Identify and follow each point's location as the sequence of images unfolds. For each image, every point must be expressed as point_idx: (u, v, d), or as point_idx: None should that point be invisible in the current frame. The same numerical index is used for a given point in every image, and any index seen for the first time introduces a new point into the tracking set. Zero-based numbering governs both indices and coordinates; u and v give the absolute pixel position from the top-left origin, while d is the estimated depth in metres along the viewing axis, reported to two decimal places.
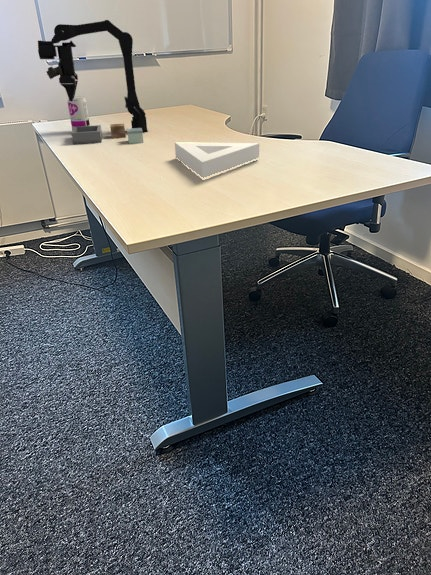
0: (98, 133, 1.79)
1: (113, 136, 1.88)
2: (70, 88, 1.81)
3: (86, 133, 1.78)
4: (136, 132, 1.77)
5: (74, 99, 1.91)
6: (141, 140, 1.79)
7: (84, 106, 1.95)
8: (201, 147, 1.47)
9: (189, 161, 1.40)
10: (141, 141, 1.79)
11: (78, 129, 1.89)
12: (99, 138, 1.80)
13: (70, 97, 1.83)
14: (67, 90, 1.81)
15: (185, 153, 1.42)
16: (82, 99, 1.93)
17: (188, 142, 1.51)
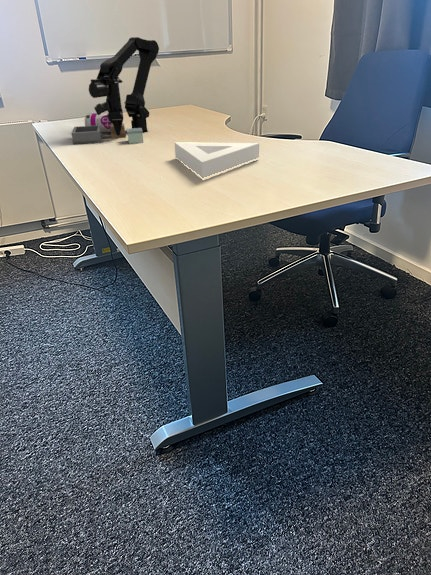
0: (98, 133, 1.79)
1: (113, 136, 1.88)
2: (118, 123, 1.83)
3: (86, 133, 1.78)
4: (136, 132, 1.77)
5: None
6: (141, 140, 1.79)
7: None
8: (201, 147, 1.47)
9: (188, 161, 1.40)
10: (141, 141, 1.79)
11: (78, 129, 1.89)
12: (99, 138, 1.80)
13: (117, 132, 1.86)
14: (115, 125, 1.83)
15: (185, 153, 1.42)
16: None
17: (188, 142, 1.51)
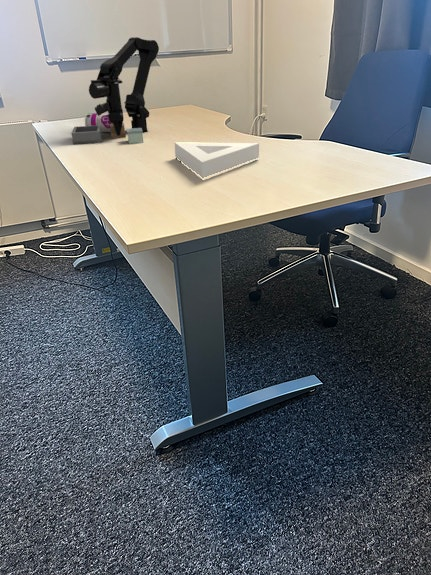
0: (98, 133, 1.79)
1: (113, 136, 1.88)
2: (118, 123, 1.84)
3: (86, 133, 1.78)
4: (136, 132, 1.77)
5: None
6: (141, 140, 1.79)
7: None
8: (201, 147, 1.47)
9: (188, 161, 1.40)
10: (141, 141, 1.79)
11: (78, 129, 1.89)
12: (99, 138, 1.80)
13: (118, 132, 1.87)
14: (115, 125, 1.84)
15: (185, 153, 1.42)
16: None
17: (188, 142, 1.51)
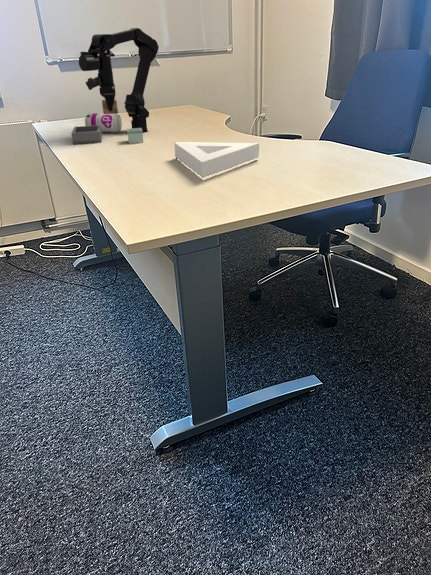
0: (98, 133, 1.79)
1: (105, 111, 1.82)
2: (110, 98, 1.78)
3: (86, 133, 1.78)
4: (136, 132, 1.77)
5: (115, 125, 1.95)
6: (141, 140, 1.79)
7: (112, 132, 1.99)
8: (201, 147, 1.47)
9: (188, 161, 1.40)
10: (141, 141, 1.79)
11: (78, 129, 1.89)
12: (99, 138, 1.80)
13: (110, 108, 1.81)
14: (107, 100, 1.78)
15: (185, 153, 1.42)
16: (117, 131, 1.98)
17: (188, 142, 1.51)
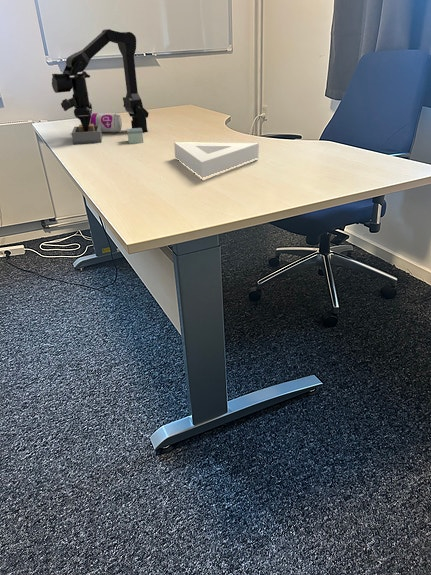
0: (98, 133, 1.79)
1: None
2: (85, 119, 1.77)
3: (86, 133, 1.78)
4: (136, 132, 1.77)
5: (115, 125, 1.95)
6: (141, 140, 1.79)
7: (112, 132, 1.99)
8: (200, 147, 1.47)
9: (188, 161, 1.41)
10: (141, 141, 1.79)
11: (78, 129, 1.89)
12: (99, 138, 1.80)
13: (85, 129, 1.80)
14: (82, 122, 1.77)
15: (185, 153, 1.42)
16: (117, 131, 1.98)
17: (187, 142, 1.51)
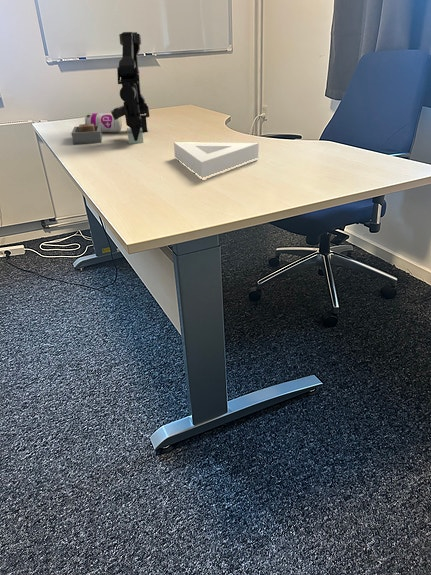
0: (98, 133, 1.79)
1: None
2: (136, 128, 1.75)
3: (86, 133, 1.78)
4: None
5: (115, 125, 1.95)
6: (141, 140, 1.79)
7: (112, 132, 1.99)
8: (200, 147, 1.47)
9: (188, 161, 1.41)
10: (141, 141, 1.79)
11: (78, 129, 1.89)
12: (99, 138, 1.80)
13: (135, 137, 1.77)
14: (133, 130, 1.75)
15: (184, 153, 1.42)
16: (117, 131, 1.98)
17: (187, 142, 1.51)
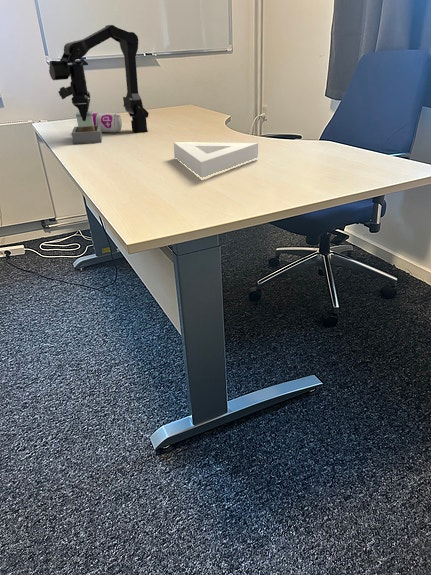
0: (98, 133, 1.79)
1: None
2: (83, 108, 1.75)
3: (86, 133, 1.78)
4: None
5: (115, 125, 1.95)
6: (90, 123, 1.81)
7: (112, 132, 1.99)
8: (200, 147, 1.47)
9: (187, 161, 1.41)
10: (90, 124, 1.81)
11: (78, 129, 1.89)
12: (99, 138, 1.80)
13: (83, 117, 1.77)
14: (80, 110, 1.75)
15: (184, 153, 1.42)
16: (117, 131, 1.98)
17: (187, 142, 1.52)
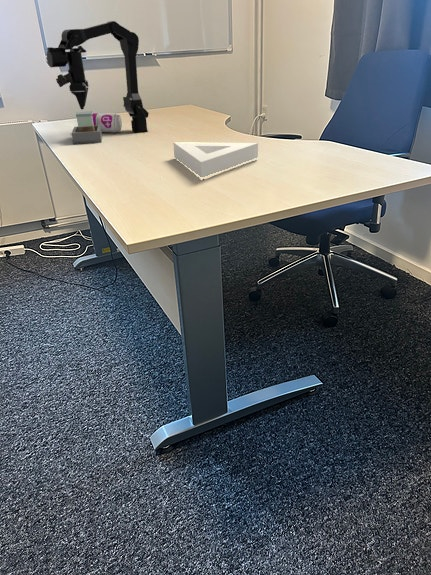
0: (98, 133, 1.79)
1: None
2: (81, 96, 1.72)
3: (86, 133, 1.78)
4: (85, 115, 1.79)
5: (115, 125, 1.95)
6: (90, 123, 1.81)
7: (112, 132, 1.99)
8: (200, 147, 1.47)
9: (187, 161, 1.41)
10: (90, 124, 1.81)
11: (78, 129, 1.89)
12: (99, 138, 1.80)
13: (81, 106, 1.75)
14: (78, 98, 1.73)
15: (184, 153, 1.42)
16: (117, 131, 1.98)
17: (187, 142, 1.52)
